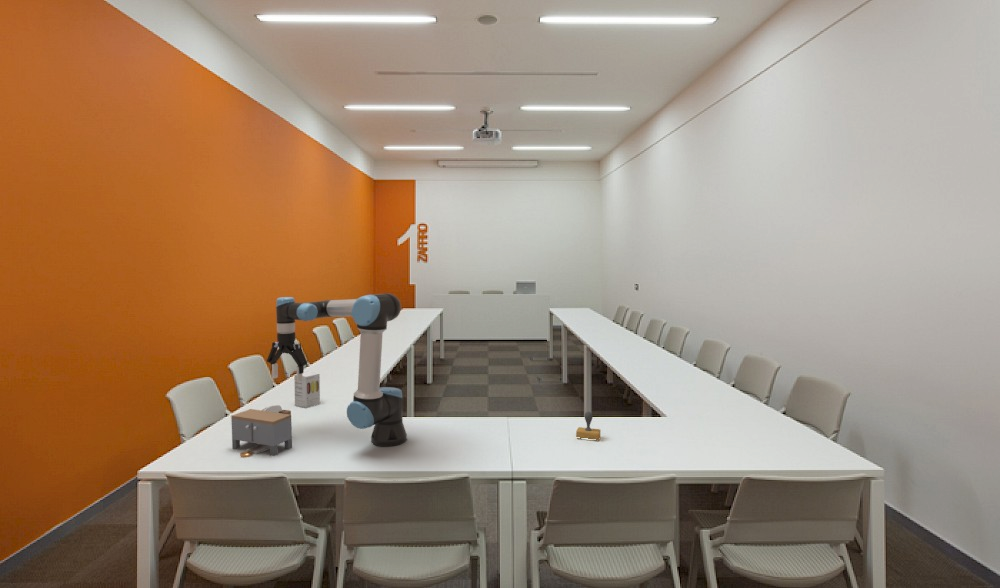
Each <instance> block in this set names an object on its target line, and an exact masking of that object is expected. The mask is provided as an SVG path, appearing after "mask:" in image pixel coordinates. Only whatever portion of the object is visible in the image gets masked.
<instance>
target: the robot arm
mask: <svg viewBox="0 0 1000 588" xmlns="http://www.w3.org/2000/svg"><path fill="white" fill-rule="evenodd" d="M401 303H402V302H401V300H400V299H399V298H398V296H396V295H394V294H392V293H387V292H386V293H376V294H366V295H363V296H362V295H361V296H360V297H358V298H353V299H351V298H350V299H333V300H332V299H331V300H330V299H327V300H326V299H324V300H319V301H317V300H316V301H310V302H296V300H295V298H294V297H292V296H284V297H282V296H281V297H278V298H276V304H275V305H276V306H275V311H276V332H277V334H276V341H275V342H272V344H271V349H270V352H269V354H268V357H267V358H266V363H269V364H270V371H271V378H272V380H274V379H278V378H279V369H278V368H279V364H278V363H277V362H278V361H279V359H280V357H282V355H283V354H287V355H290V356H291V357H292V359H293V360H294V362H295V363H296V364H297V366H296V374H297V381H301V380H303V375H302V373H305V372H304V366H306V365H308V361H307V359H306V356H305V354H304V352H303V349H302V344H301V343H295V341H296V332H295V331H296V321H303V322H308V321H309V322H311V321H312V322H313V321H314V320H315V319H319V318H321V319H323V318H334V317H335V318H338V317H339V318H340V317H341V318H343V317H344V318H345V317H351V318H352V319H353V322H354V323H355V324H356V329H357V330H359V332H360V337H359V338H360V339H359V356H358V357H359V360H358V377H357V378H358V380H357V389H356V391H354V393H353V400H352V401H351V402H350V403H349V405H347V407H346V416H347V419H348V421H349V422H350V423H351V425H352V426H353V427H355V428H357V429H359V430H364V429H367V428H371V427H373V426H374V427H373V429H372V433H371V437H370V439H371V440H370V442H371V444H372V443H373V444H372V445H375V446H377V445H378V447H394V445H395V446H399V445H401V443H402V444H404V443H406V441H407V440H408V437H407V431H406V428H405V426H404V421H403V392H402V389H400V388H398V387H393V386H391V387H390V386H384V387H383V386H381V387H380V385H381V371H382V369H381V368H382V351H383V350H382V349H383V333H384V332H385V331H386V330H387V326H388V322H391V321H393V320H395V319H396V318H398V316H399V315H400V314H401V311H402V304H401ZM398 444H399V445H398Z"/></svg>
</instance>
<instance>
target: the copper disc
mask: <svg viewBox="0 0 1000 588" xmlns="http://www.w3.org/2000/svg"><path fill="white" fill-rule="evenodd" d="M239 455H240V456H241V457H240V458H249V457H252V456H253V452H252V451H242V452H240V454H239Z"/></svg>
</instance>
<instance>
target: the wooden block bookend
mask: <svg viewBox="0 0 1000 588" xmlns="http://www.w3.org/2000/svg"><path fill="white" fill-rule="evenodd" d="M279 413H282V414H289V415H291V416H292V411H291V410H289V409H288V410H287V409H282V411H279ZM282 443H284V442H282ZM282 443H281V444H282ZM267 450H270V446H268V445H263V444H257V445H255V446H252V447H249V448H247V449H245V451H252V452H253V454H254V455H258V454H260V452H261V453H263V452H265V451H267ZM245 451H244V452H245Z"/></svg>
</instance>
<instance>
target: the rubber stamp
mask: <svg viewBox="0 0 1000 588" xmlns="http://www.w3.org/2000/svg"><path fill="white" fill-rule="evenodd" d="M584 420H585V423H586V427H581V426H579V427H577V429H576V430H575V431H576V432H575V438H576V437H580V438H588V439H596V440H599V438H600V439H601V429H600V428H591V423H592V420H593V414H592V412H591V411H586V412H585V413H584ZM599 441H600V440H599Z"/></svg>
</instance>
